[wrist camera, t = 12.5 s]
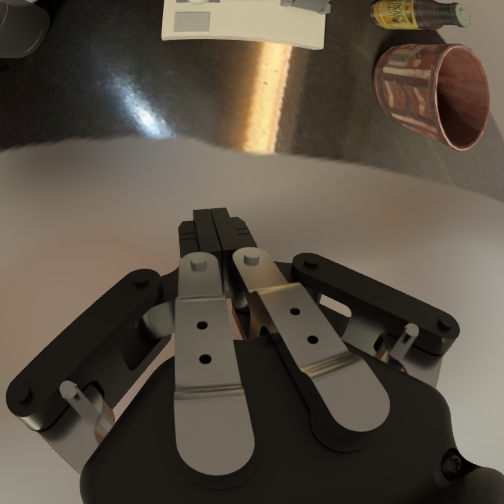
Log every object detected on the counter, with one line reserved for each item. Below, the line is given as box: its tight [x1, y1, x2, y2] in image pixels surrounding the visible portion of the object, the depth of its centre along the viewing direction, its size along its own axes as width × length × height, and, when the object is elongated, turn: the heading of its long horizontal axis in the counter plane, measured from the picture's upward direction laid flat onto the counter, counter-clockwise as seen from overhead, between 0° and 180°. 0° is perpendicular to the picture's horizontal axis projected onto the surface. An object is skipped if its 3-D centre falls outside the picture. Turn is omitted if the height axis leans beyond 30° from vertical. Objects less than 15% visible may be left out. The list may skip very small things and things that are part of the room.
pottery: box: [372, 44, 489, 151], centre depth 35 cm, size 18×18×18 cm
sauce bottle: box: [370, 0, 470, 30], centre depth 26 cm, size 7×6×20 cm
